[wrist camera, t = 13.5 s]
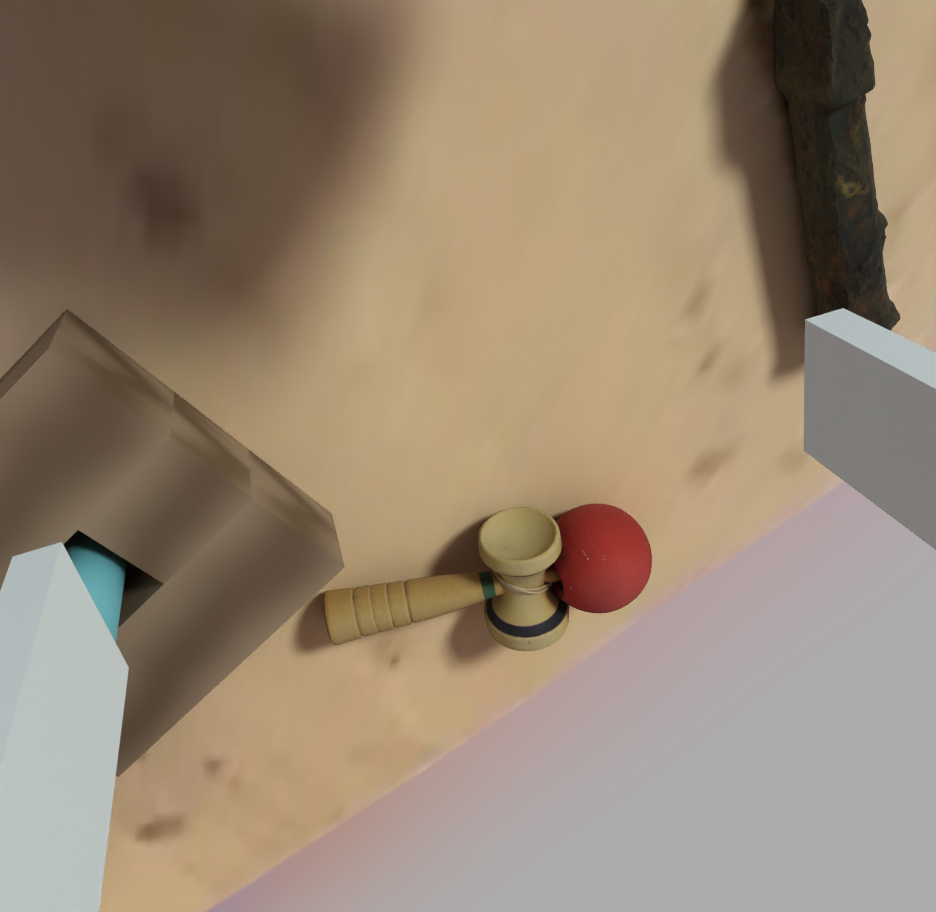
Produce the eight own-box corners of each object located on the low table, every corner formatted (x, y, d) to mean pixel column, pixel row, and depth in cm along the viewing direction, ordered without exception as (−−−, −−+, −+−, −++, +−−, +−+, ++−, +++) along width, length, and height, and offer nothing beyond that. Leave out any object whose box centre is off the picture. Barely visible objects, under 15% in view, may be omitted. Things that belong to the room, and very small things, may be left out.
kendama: (348, 648, 51) (642, 585, 52) (343, 711, 45) (675, 640, 46) (317, 531, 49) (626, 467, 49) (307, 582, 43) (659, 508, 43)
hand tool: (863, 308, 48) (922, 334, 44) (800, 336, 48) (854, 365, 44) (830, -67, 39) (902, -76, 35) (751, -35, 38) (815, -40, 34)
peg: (51, 536, 42) (11, 672, 33) (92, 495, 41) (63, 622, 33) (103, 568, 43) (79, 707, 35) (143, 529, 43) (129, 658, 34)
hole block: (-166, 552, 39) (-211, 619, 35) (66, 309, 37) (48, 348, 33) (126, 706, 47) (118, 776, 43) (331, 513, 45) (344, 567, 41)
